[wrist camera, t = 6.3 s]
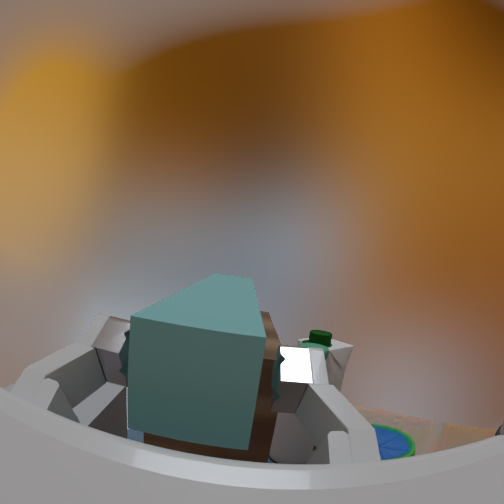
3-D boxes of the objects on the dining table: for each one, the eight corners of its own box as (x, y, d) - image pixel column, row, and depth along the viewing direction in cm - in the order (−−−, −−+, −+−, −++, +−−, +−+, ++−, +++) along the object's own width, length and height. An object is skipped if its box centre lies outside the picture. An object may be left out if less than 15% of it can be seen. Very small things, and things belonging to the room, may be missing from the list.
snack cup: (328, 461, 41) (343, 411, 41) (388, 468, 38) (407, 418, 38) (315, 523, 26) (337, 469, 26) (394, 529, 23) (425, 474, 23)
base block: (95, 555, 15) (63, 451, 15) (16, 517, 15) (-25, 403, 15) (130, 485, 29) (126, 385, 29) (65, 462, 29) (52, 362, 29)
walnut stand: (235, 580, 16) (287, 361, 16) (154, 567, 16) (146, 339, 16) (238, 492, 32) (268, 312, 32) (179, 483, 32) (193, 301, 32)
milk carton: (277, 421, 55) (294, 327, 55) (308, 411, 60) (325, 325, 60) (309, 441, 48) (332, 339, 48) (338, 427, 53) (361, 335, 53)
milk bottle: (301, 473, 37) (330, 357, 38) (258, 456, 41) (278, 344, 42) (319, 451, 44) (345, 346, 44) (280, 438, 48) (300, 336, 48)
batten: (247, 450, 7) (266, 337, 7) (128, 427, 7) (130, 315, 7) (247, 314, 29) (252, 278, 29) (211, 309, 29) (215, 273, 29)
